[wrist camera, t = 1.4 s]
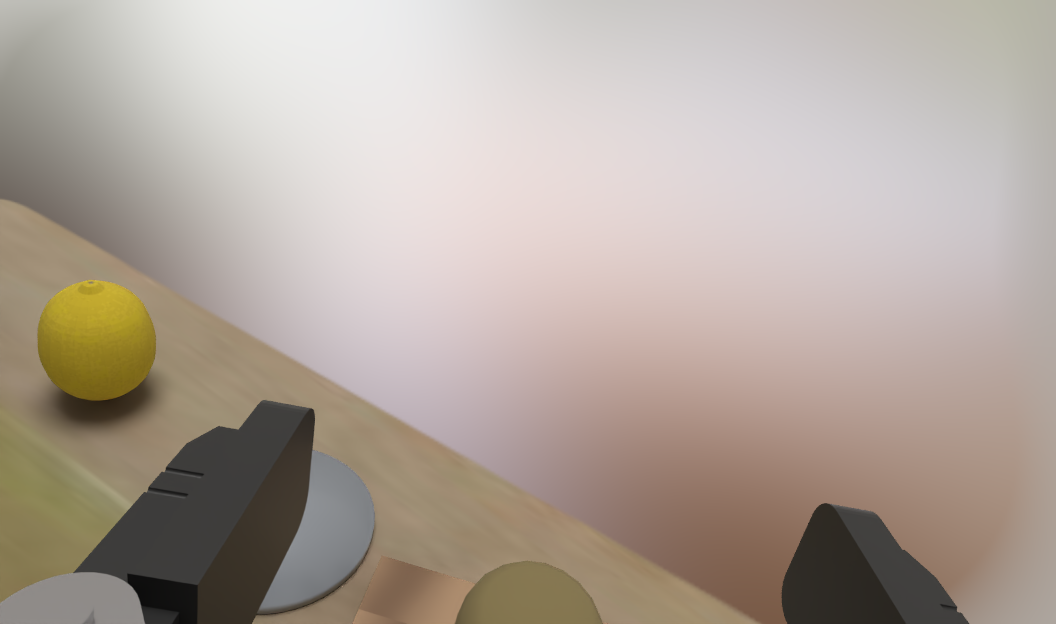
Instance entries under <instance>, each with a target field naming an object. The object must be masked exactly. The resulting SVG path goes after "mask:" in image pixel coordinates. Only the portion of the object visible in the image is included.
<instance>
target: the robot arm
mask: <svg viewBox="0 0 1056 624" xmlns="http://www.w3.org/2000/svg"><path fill="white" fill-rule="evenodd" d="M314 425H315V414H314V410H313V409H311V408H306V407H300V406H295V405H289V404H284V403H278V402H273V401H267V400H263V401H261V402H260V403H259V404H258V405H257V407H256V408H255V409H254V411H253V412H252V413H251V414H250V416H249V417H248V418H247V420H246V421H245V422H244V423H243V425H242V426H241V427H240V429H239V430H237V429H231V428H226V427H220V426H218V427H216V428H214V429H212V430H211V431H209V432H207V433H205V434H203V435H201V436H200V437H198V438H196V439H194V440H192V441H191V442H189V443H187V444H186V445H185V446H184V447H183V448H182V450H181V451H180V452H179V453H178V454H177V455H176V456H175V458H174V459H173V460H172V461H171V462H170V463H169V464H168V466H167V467H166V470H165V472H161V474H160V475H159V476H158V477H157V478H156V479H155V480H154V481H153V483H152V484H151V485H150V486H149V488H148V491H147V493H146V492H144V493H143V494H142V495H141V496H140V497H139V499H138V500H137V501H136V502H135V503H134V504H133V505H132V507H131V508H130V509H129V510H128V511H127V512H126V513H125V515H124V516H123V517H122V518H121V519H120V520H119V521H118V523H117V524H116V525H115V526H114V527H113V528H112V529H111V531H110V532H109V533H108V534H107V535H106V536H105V537H104V538H103V540H102V541H101V542H100V543H99V544H98V545H97V546H96V548H95V549H94V550H93V551H92V552H91V553H90V554H89V556H88V557H87V558H86V559H85V560H84V561H83V562H82V564H81V565H80V566H79V567H78V568H77V569H76V570H75V572H74V573H70V574H64V575H60V576H55V577H52V578H48V579H45V580H42V581H39V582H37V583H35V584H32V585H30V586H27V587H25V588H24V589H22V590H20V591H18V592H16V593H14V594H13V595H11V596H10V597H8V598H7V599H5V600H4V601H2V602H1V603H0V624H252V622H253V620H254V618H255V616H256V614H257V612H258V610H259V608H260V606H261V604H262V602H263V600H264V598H265V596H266V594H267V592H268V590H269V588H270V586H271V584H272V582H273V580H274V578H275V576H276V574H277V572H278V570H279V568H280V566H281V564H282V562H283V560H284V558H285V556H286V554H287V552H288V550H289V548H290V546H291V544H292V542H293V540H294V538H295V536H296V534H297V532H298V529H299V527H300V524H301V521H302V518H303V515H304V511H305V507H306V503H307V498H308V492H309V482H310V470H311V459H312V448H313V437H314ZM782 607H783V612H784V616H785V619H786V621H787V624H969V623H968V621H967V620H966V619H965V617H964V616H963V614H962V613H959V612H957V606H956V605H955V603H954V602H953V601H952V599H951V598H950V597H949V595H948V594H947V593H946V591H945V590H944V588H943V587H942V586H941V584H940V583H939V581H938V580H937V579H936V577H934V575H932V574H931V573H930V572H929V571H928V570H927V569H926V568H924V567H923V566H922V565H921V564H920V563H919V562H918V561H916V560H915V559H914V558H913V557H912V556H911V555H910V554H909V553H908V552H906V551H905V550H902V549H901V547H900V546H899V545H898V543H897V542H896V541H895V539H894V537H893V536H892V535H891V533H890V532H889V530H888V529H887V527H886V526H885V525H884V523H883V522H882V520H881V519H880V518H879V517H878V515H877V514H875V513H874V512H871V511H866V510H860V509H855V508H849V507H843V506H839V505H832V504H827V503H824V504H821V505H819V506H818V507H817V508H816V510H815V511H814V513H813V515H812V517H811V519H810V522H809V523H808V526H807V528H806V530H805V532H804V534H803V537H802V539H801V541H800V543H799V546H798V548H797V550H796V552H795V554H794V557H793V559H792V561H791V564H790V566H789V568H788V570H787V572H786V575H785V578H784V581H783V586H782Z"/></svg>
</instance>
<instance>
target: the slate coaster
mask: <svg viewBox="0 0 1056 624" xmlns="http://www.w3.org/2000/svg"><path fill="white" fill-rule="evenodd" d="M374 518H375V513H374V505H373V502H372V498H371V495H370V493H369V491H368V489H367V487H366V485H365V484H364V482H363V481H362V480H361V478H360V477H359V476H358V475H357V474H356V473H355V472H354V471H353V470H352V469H351V468H349V467H348V466H347V465H345V464H344V463H342V462H341V461H339V460H337V459H335V458H333V457H331V456H329V455H327V454H324V453H321V452H318V451H314V450H312V459H311V470H310V482H309V492H308V498H307V503H306V507H305V511H304V515H303V518H302V521H301V524H300V527H299V529H298V532H297V534H296V536H295V538H294V540H293V542H292V544H291V546H290V548H289V550H288V552H287V554H286V556H285V558H284V560H283V562H282V564H281V566H280V568H279V570H278V572H277V574H276V576H275V578H274V580H273V582H272V584H271V586H270V588H269V590H268V592H267V594H266V596H265V598H264V600H263V602H262V604H261V606H260V608H259V610H258V612H257V614H272V613H280V612H285V611H289V610H293V609H297V608H300V607H302V606H305V605H308V604H311V603H313V602H315V601H317V600H319V599H321V598H323V597H325V596H326V595H328V594H329V593H331V592H333V591H334V590H336V589H337V588H338V587H339V586H340V585H342V584H343V583H344V582H345V581H346V580H347V579H348V578H349V577H350V576H351V575H352V574H353V573H354V572H355V571H356V569H357V568H358V567H359V565H360V564H361V563H362V561H363V559H364V557H365V555H366V554H367V551H368V549H369V546H370V543H371V540H372V535H373V529H374Z"/></svg>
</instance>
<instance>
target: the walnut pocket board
mask: <svg viewBox="0 0 1056 624" xmlns="http://www.w3.org/2000/svg"><path fill="white" fill-rule="evenodd" d="M475 585H476V584H475V583H471V582H468V581H465V580H461V579H458V578H455V577H451V576H448V575H445V574H441V573H438V572H435V571H431V570H428V569H425V568H421V567H418V566H415V565H411V564H408V563H405V562H401V561H398V560H395V559H391V558H388V557H385V556H381V559H380V561H379V563H378V566H377V568H376V570H375V572H374V575H373V577H372V579H371V582H370V584H369V586H368V589H367V591H366V593H365V596H364V598H363V600H362V602H361V605H360V607H359V609H358V612H357V614H356V616H355V619H354V621H353V623H352V624H455V621H456V618H457V615H458V612H459V610H460V608H461V605H462V603H463V601H464V599H465V596H466V595H467V594H468V592H469V591H470V590H471V589H472V588H473V587H474V586H475ZM603 624H608V623H604V622H603Z"/></svg>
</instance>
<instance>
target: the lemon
mask: <svg viewBox="0 0 1056 624" xmlns="http://www.w3.org/2000/svg"><path fill="white" fill-rule="evenodd" d="M155 352H156V335H155V330H154V326H153V323H152V320H151V318H150V316H149V314H148V312H147V310H146V308H145V306H144V304H143V303H142V302H141V300H140V299H139V298H138V297H137V296H135V295H134V294H133V293H132V292H131V291H129V290H128V289H126V288H124V287H122V286H120V285H117V284H114V283H110V282H105V281H95V280H87V281H84V282H80V283H77V284H74V285H71V286H69V287H67V288H65V289H63V290H62V291H60V292H58V293H57V294H56V295H55V296H54V297H53V298H52V299H51V300H50V301H49V302H48V303H47V305H46V306H45V308H44V310H43V312H42V315H41V317H40V321H39V325H38V353H39V357H40V360H41V363H42V365H43V367H44V369H45V371H46V373H47V375H48V376H49V378H50V379H51V381H52V382H53V383H54V384H55V385H57V386H58V387H59V388H60V389H62V390H63V391H65V392H66V393H68V394H70V395H73V396H75V397H78V398H81V399H86V400H98V401H100V400H108V399H113V398H116V397H119V396H122V395H124V394H126V393H128V392H130V391H131V390H133V389H134V388H136V387H137V386H138V385H139V384H140V383H141V382H142V381H143V380H144V379H145V378H146V376H147V375H148V373H149V371H150V369H151V367H152V365H153V362H154V359H155Z"/></svg>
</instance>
